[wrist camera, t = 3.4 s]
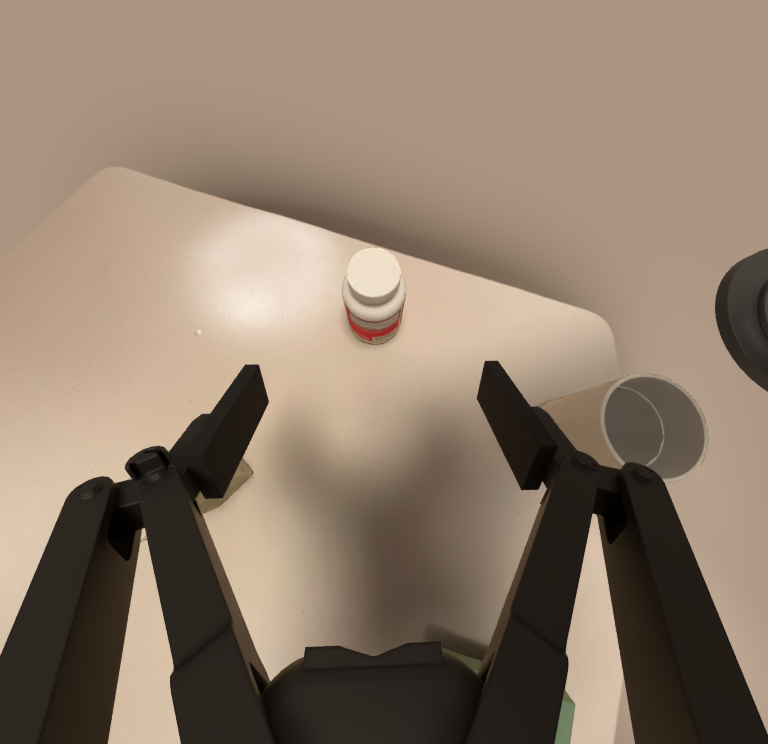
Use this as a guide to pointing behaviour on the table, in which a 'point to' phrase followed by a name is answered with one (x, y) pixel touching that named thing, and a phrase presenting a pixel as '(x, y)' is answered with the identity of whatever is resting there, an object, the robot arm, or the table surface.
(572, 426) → the cup
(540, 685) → the robot arm
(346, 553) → the table surface
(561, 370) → the table surface
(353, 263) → the pill bottle
